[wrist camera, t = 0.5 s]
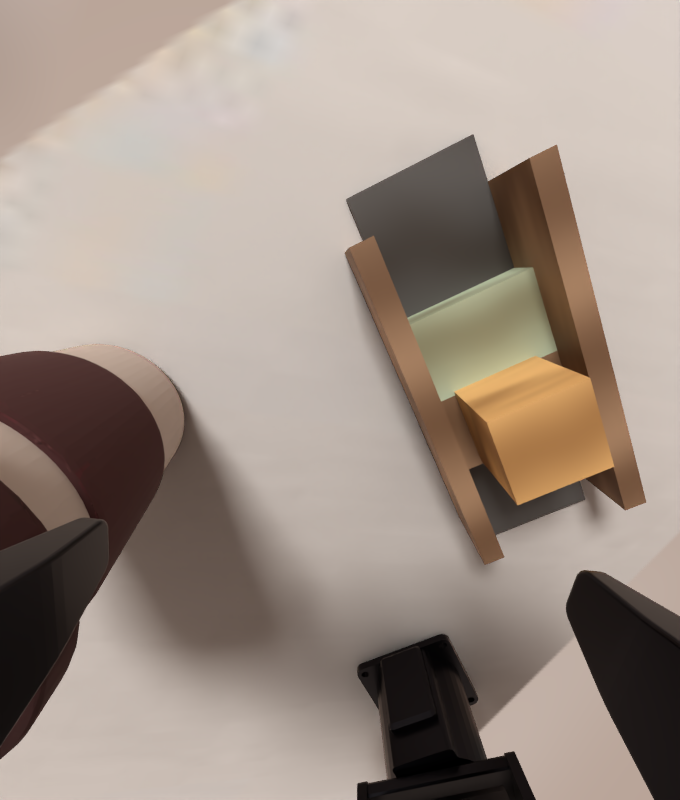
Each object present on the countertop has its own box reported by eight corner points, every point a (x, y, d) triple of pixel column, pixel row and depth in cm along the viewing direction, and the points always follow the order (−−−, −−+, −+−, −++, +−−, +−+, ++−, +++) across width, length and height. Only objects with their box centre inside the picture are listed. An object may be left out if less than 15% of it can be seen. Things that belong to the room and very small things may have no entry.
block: (558, 428, 19) (614, 466, 16) (481, 460, 20) (517, 505, 16) (535, 355, 18) (590, 378, 14) (454, 391, 19) (486, 422, 15)
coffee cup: (-28, 356, 19) (-1015, 609, 5) (156, 283, 18) (-401, 343, 4) (83, 516, 22) (-335, 952, 8) (244, 460, 22) (89, 832, 7)
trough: (599, 490, 23) (654, 534, 19) (470, 542, 24) (497, 593, 20) (493, 124, 17) (541, 81, 13) (326, 210, 18) (325, 193, 14)
